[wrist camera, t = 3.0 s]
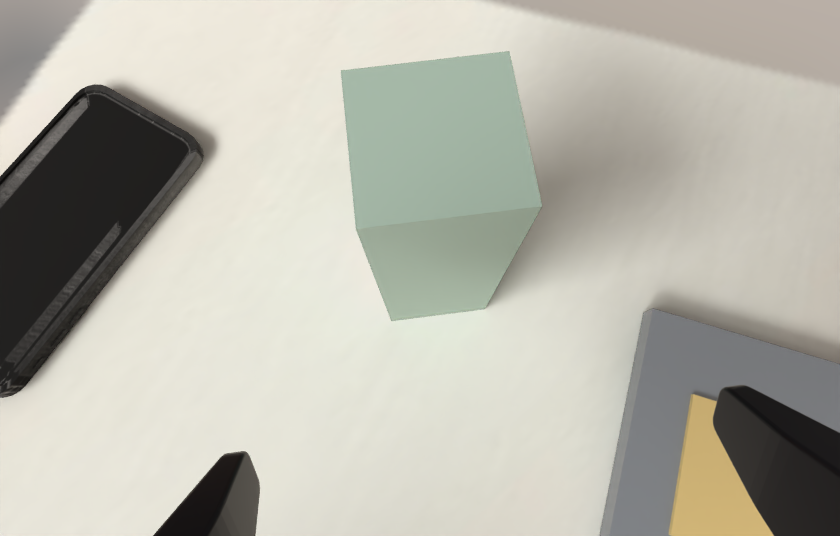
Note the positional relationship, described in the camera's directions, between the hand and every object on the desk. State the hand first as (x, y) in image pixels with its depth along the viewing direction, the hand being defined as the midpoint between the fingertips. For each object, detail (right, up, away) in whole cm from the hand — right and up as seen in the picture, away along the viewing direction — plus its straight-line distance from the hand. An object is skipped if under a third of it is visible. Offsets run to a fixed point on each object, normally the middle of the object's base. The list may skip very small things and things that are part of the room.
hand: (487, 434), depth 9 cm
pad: (+12, -6, +12) cm, 18 cm away
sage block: (-1, +3, +14) cm, 15 cm away
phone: (-19, +5, +16) cm, 25 cm away
